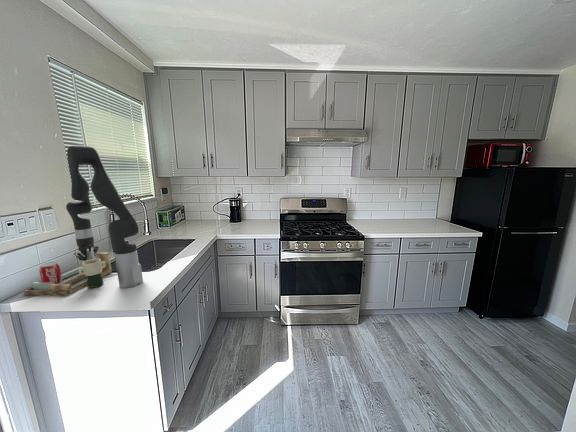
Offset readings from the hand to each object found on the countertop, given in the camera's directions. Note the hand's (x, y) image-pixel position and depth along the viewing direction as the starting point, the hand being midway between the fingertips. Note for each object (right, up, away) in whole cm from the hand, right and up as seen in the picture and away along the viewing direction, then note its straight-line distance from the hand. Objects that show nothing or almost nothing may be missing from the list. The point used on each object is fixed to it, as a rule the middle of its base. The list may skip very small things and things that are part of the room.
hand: (89, 265), depth 135 cm
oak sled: (+9, -6, -14) cm, 18 cm away
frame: (+3, -6, -16) cm, 17 cm away
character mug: (+19, -6, -18) cm, 27 cm away
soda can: (-2, -7, -19) cm, 20 cm away
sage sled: (-1, -5, -12) cm, 13 cm away
